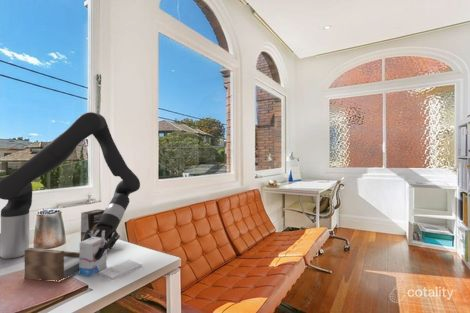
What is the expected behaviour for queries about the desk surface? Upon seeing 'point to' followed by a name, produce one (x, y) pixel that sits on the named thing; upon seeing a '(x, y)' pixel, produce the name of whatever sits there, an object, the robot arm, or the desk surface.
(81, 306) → the desk surface
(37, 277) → the brown open tray
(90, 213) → the coffee box
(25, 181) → the robot arm
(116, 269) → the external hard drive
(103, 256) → the ink box
